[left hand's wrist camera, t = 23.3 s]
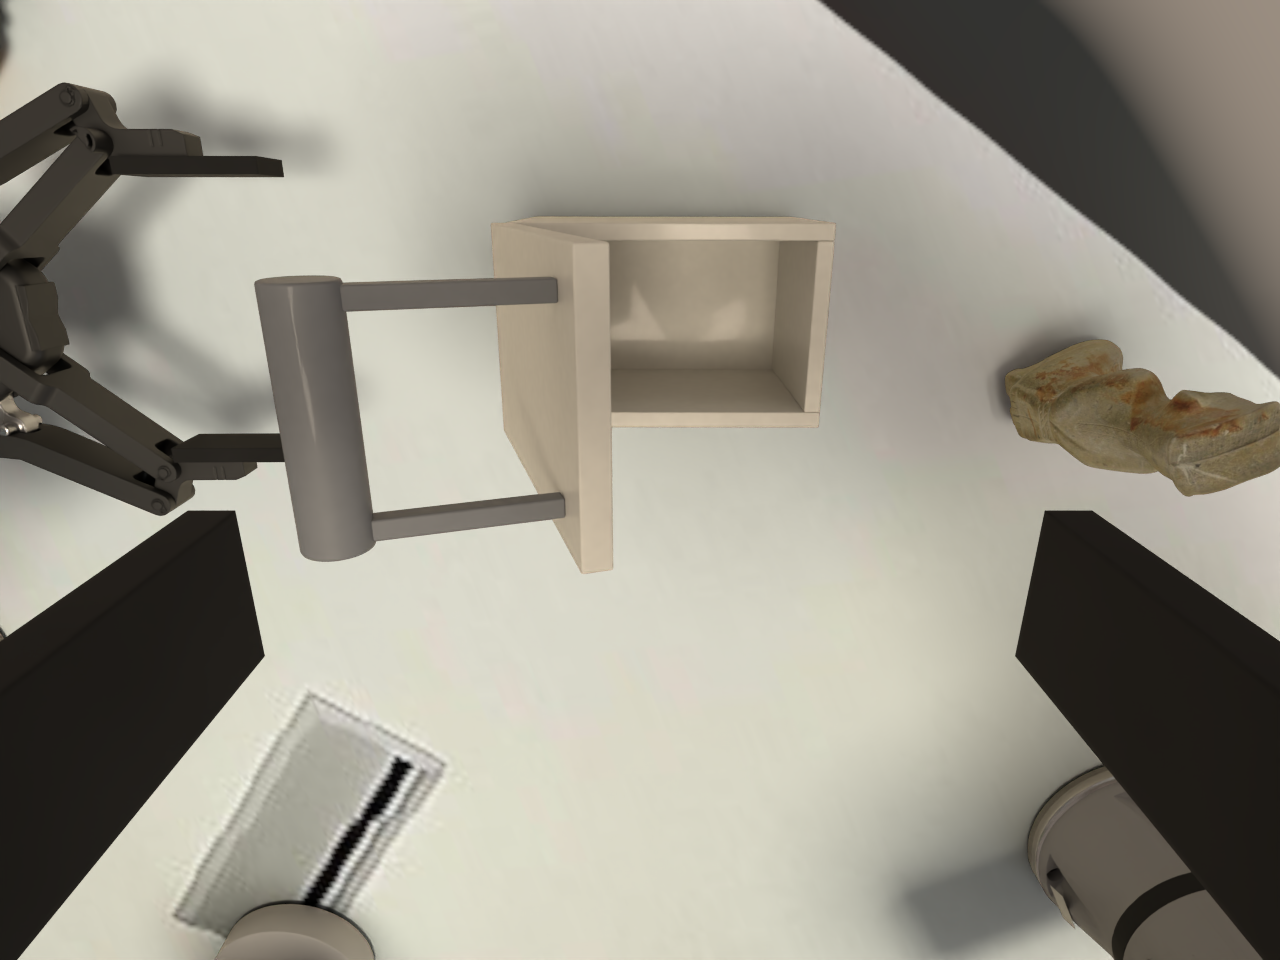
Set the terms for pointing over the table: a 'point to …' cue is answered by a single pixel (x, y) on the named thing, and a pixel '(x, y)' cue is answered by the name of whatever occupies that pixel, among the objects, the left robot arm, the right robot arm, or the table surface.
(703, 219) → the chest
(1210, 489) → the sculpture
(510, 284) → the lid
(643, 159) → the table surface
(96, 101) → the right robot arm
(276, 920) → the bust sculpture
